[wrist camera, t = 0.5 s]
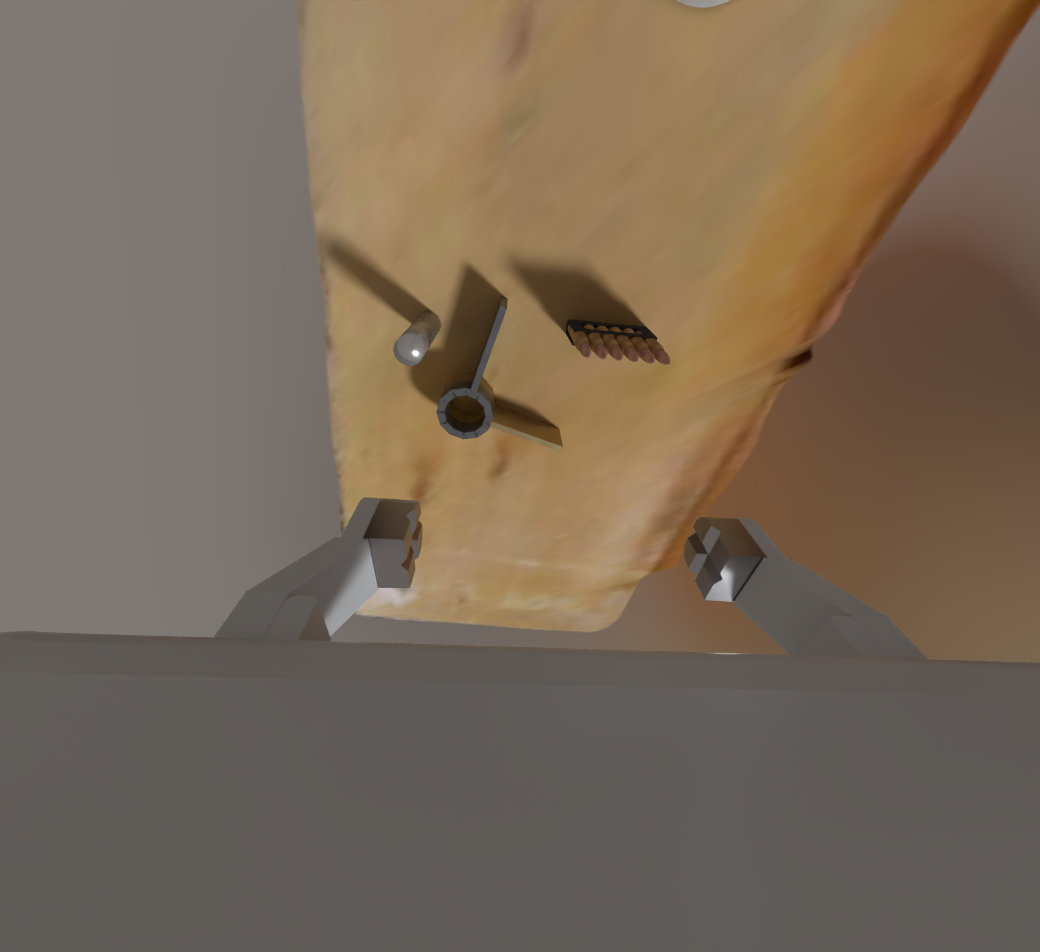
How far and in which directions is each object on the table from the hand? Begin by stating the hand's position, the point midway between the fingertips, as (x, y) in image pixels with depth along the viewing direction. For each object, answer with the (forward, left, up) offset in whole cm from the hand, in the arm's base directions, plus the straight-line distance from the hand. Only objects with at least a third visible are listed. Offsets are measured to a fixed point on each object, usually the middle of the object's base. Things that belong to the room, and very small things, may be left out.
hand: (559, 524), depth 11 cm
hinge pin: (+9, -10, -43) cm, 45 cm away
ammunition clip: (+1, +12, -43) cm, 45 cm away
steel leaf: (+11, -2, -43) cm, 45 cm away
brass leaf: (+17, +4, -43) cm, 46 cm away
